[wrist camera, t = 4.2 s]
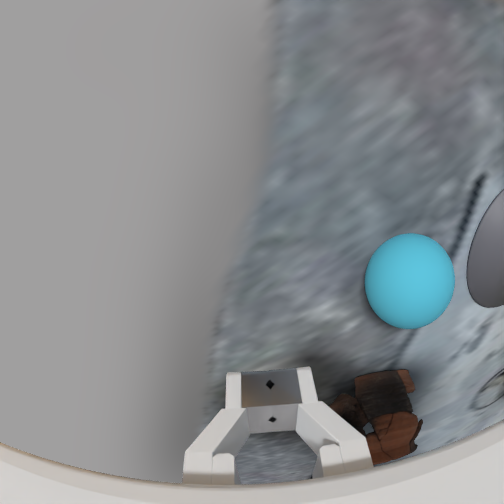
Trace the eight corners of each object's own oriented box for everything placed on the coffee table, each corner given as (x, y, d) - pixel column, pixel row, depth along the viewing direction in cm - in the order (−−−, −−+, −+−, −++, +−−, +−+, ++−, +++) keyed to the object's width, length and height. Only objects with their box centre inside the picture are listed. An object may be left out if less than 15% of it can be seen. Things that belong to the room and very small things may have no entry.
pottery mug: (431, 363, 26) (443, 442, 21) (363, 386, 32) (371, 453, 28) (348, 368, 20) (359, 479, 16) (275, 391, 27) (281, 475, 23)
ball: (419, 290, 21) (455, 339, 16) (349, 298, 21) (376, 356, 16) (432, 217, 18) (483, 257, 13) (356, 220, 18) (395, 266, 13)
